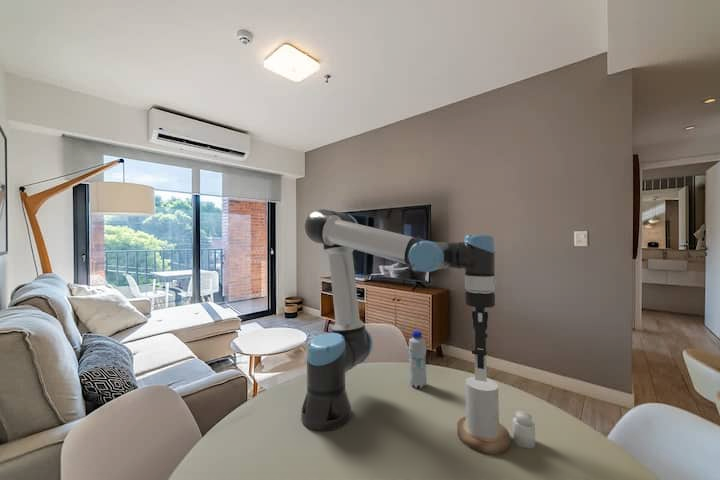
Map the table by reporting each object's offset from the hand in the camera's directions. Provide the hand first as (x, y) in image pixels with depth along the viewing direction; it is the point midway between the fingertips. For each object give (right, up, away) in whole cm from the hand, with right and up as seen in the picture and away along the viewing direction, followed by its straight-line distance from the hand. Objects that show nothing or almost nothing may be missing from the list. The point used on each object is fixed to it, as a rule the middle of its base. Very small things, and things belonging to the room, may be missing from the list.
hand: (480, 369), depth 77 cm
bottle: (-11, -19, +29) cm, 36 cm away
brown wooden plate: (0, -18, -1) cm, 18 cm away
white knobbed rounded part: (+10, -18, -3) cm, 21 cm away
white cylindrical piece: (0, -16, -1) cm, 16 cm away
